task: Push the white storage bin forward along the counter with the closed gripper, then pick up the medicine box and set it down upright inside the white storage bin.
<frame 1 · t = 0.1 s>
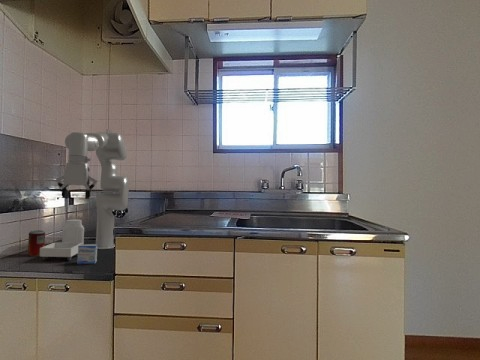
hand: (76, 198, 143), 31 cm above the countertop, tool pointing down, fingers open, 9 cm apart
jar: (72, 245, 188), on the countertop
medicine box: (87, 263, 152), on the countertop
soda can: (35, 255, 162), on the countertop
white storage bin: (61, 251, 158), point 3 cm above the countertop, slide at 0.0 cm
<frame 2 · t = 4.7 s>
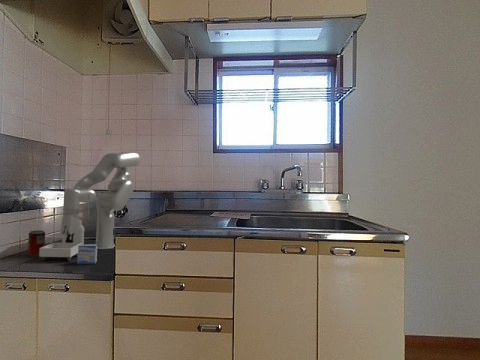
hand: (69, 247, 167), 4 cm above the countertop, tool pointing down, fingers closed
white storage bin: (61, 251, 158), point 3 cm above the countertop, slide at 0.4 cm, touching gripper
everything else where it was.
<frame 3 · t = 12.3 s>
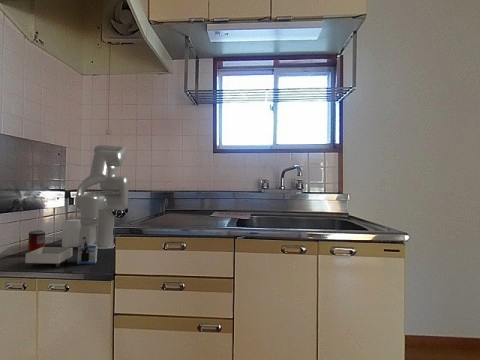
hand: (87, 259, 152), 2 cm above the countertop, tool pointing down, fingers closed on medicine box, 5 cm apart
medicine box: (87, 263, 152), on the countertop, touching gripper
white storage bin: (50, 257, 146), point 3 cm above the countertop, slide at 12.0 cm
everything else where it was.
when the fingers open (7 cm above the countertop, at t = 17.5 s): medicine box drops 2 cm, resting on white storage bin.
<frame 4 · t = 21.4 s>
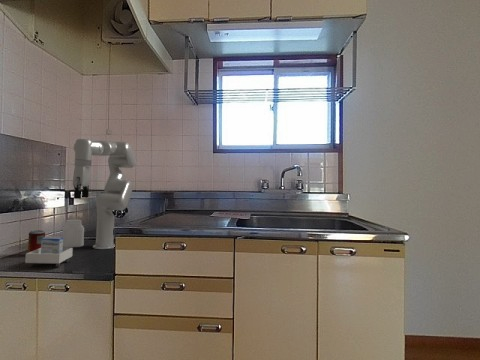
hand: (81, 198, 159), 30 cm above the countertop, tool pointing down, fingers open, 9 cm apart
medicine box: (51, 256, 147), point 3 cm above the countertop, touching white storage bin
white storage bin: (50, 257, 146), point 3 cm above the countertop, slide at 12.0 cm, touching medicine box
everything else where it was.
at the end: white storage bin slide at 12.0 cm; medicine box inside the target area on the white storage bin (1.4 cm from its centre), point 3.2 cm above the white storage bin's base; medicine box tilted 0° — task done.
